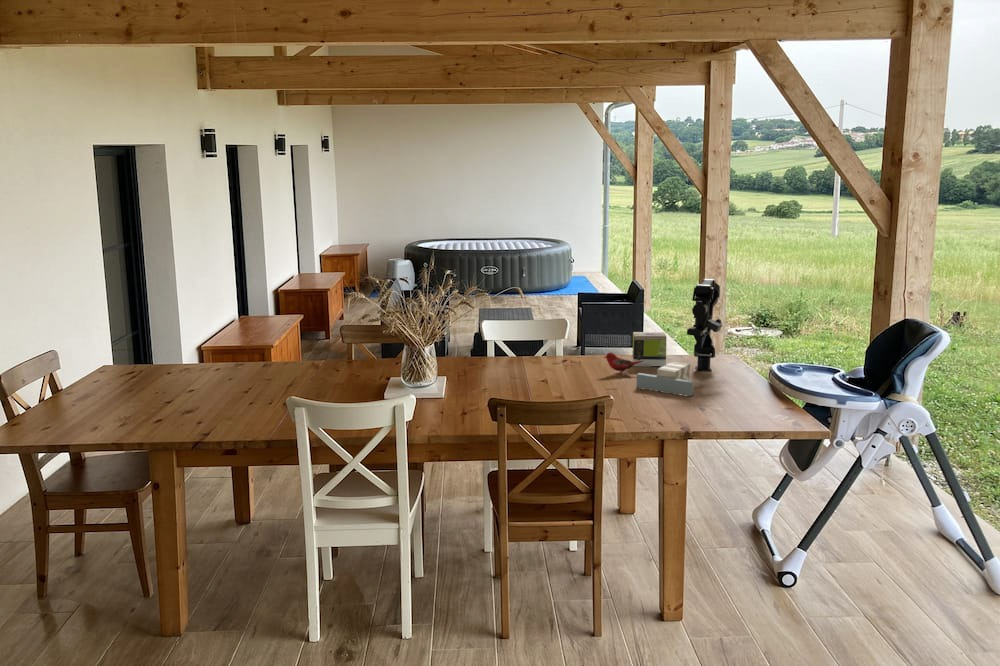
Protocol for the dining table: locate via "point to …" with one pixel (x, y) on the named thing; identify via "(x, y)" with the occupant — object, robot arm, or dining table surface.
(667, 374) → the block
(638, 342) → the tea box
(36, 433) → the dining table surface
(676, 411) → the dining table surface
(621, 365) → the decorative bird figurine
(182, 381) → the dining table surface
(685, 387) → the board
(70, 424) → the dining table surface
